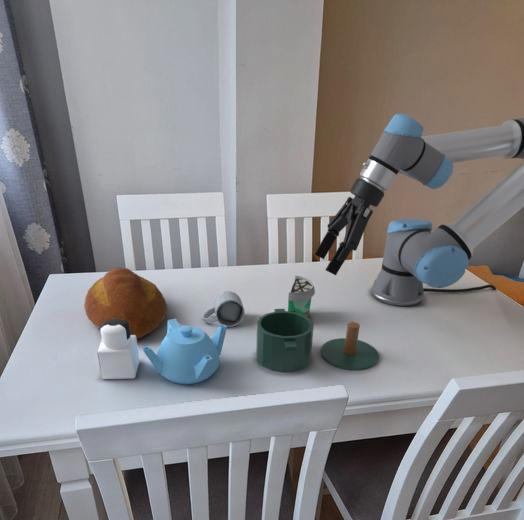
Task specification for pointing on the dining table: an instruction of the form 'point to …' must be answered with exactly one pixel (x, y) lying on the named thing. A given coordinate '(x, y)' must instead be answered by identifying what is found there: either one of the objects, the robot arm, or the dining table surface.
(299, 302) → the food container
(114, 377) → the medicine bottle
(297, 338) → the canister
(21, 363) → the dining table surface
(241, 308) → the ceramic mug
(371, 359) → the canister lid
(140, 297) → the bread
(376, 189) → the robot arm
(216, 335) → the teapot
